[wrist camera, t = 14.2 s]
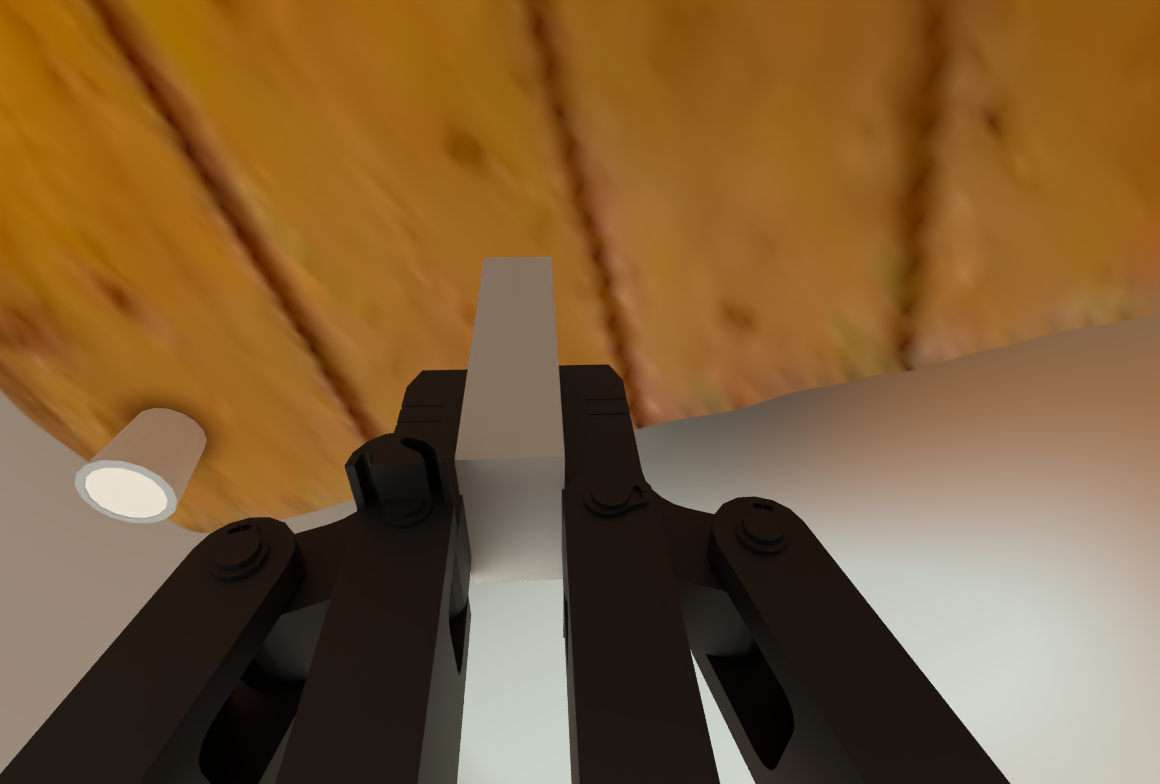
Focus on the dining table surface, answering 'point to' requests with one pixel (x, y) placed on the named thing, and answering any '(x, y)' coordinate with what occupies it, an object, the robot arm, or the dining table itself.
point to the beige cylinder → (144, 467)
